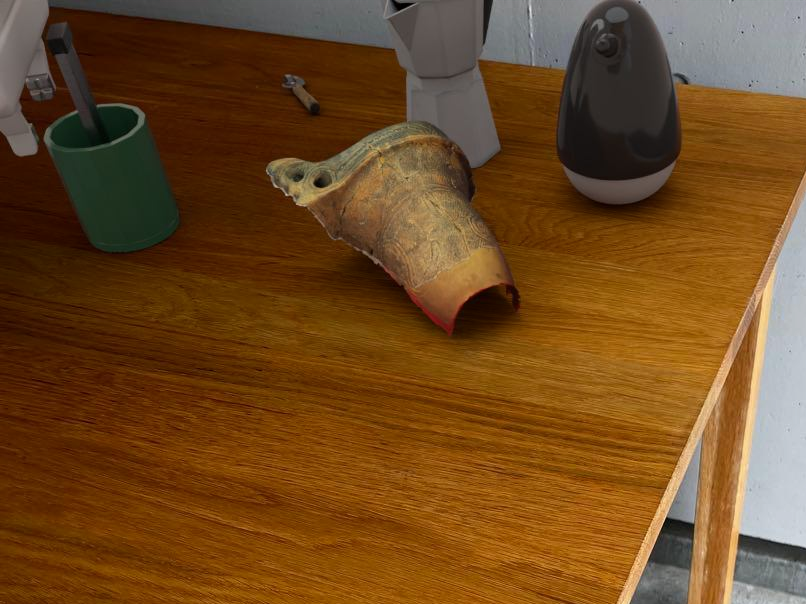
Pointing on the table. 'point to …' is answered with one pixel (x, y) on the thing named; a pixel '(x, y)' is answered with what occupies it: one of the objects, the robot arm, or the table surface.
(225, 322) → the table surface
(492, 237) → the tan clay pottery piece
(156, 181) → the cup
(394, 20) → the coffee maker
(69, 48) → the grey capped rod
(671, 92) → the pump dispenser
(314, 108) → the can opener
